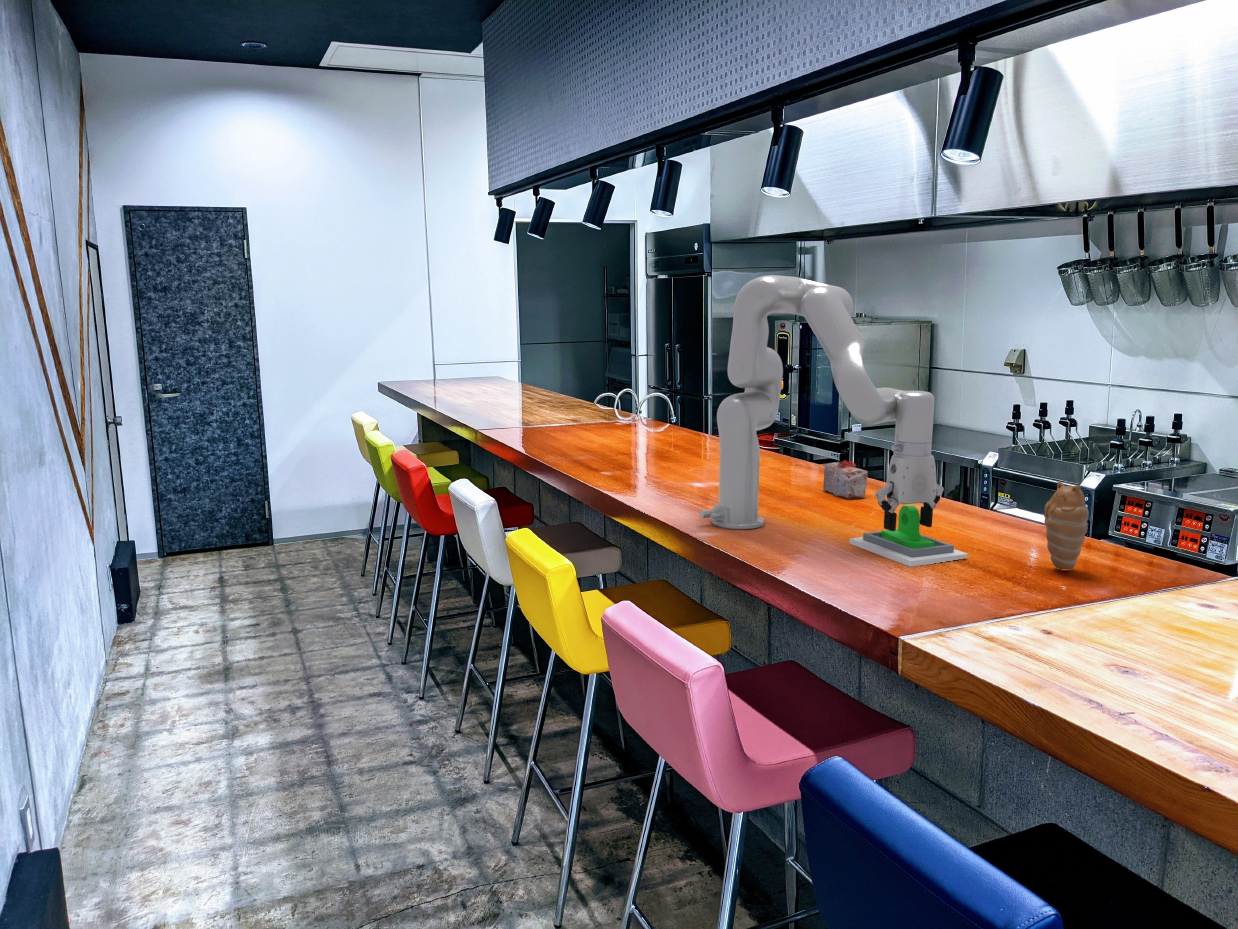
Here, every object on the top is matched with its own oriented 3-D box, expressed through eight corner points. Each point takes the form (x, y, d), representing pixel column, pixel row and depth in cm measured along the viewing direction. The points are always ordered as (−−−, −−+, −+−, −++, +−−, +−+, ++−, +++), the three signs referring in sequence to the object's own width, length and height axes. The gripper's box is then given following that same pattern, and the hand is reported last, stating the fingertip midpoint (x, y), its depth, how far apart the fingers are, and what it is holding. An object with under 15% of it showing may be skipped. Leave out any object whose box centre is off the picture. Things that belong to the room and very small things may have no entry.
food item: (870, 499, 256) (872, 463, 254) (846, 501, 253) (848, 465, 252) (841, 490, 269) (843, 456, 267) (818, 491, 266) (819, 457, 264)
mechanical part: (880, 539, 207) (882, 504, 205) (905, 538, 208) (907, 503, 207) (908, 553, 195) (910, 516, 194) (934, 551, 196) (936, 514, 195)
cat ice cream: (1030, 567, 190) (1038, 480, 187) (1060, 563, 192) (1068, 477, 189) (1065, 578, 181) (1073, 488, 178) (1095, 575, 184) (1104, 485, 181)
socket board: (910, 566, 189) (911, 553, 189) (849, 543, 208) (850, 531, 207) (967, 559, 195) (968, 546, 195) (903, 537, 213) (904, 526, 213)
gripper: (891, 454, 191) (886, 535, 194) (957, 449, 198) (951, 528, 200) (868, 449, 198) (863, 527, 201) (932, 444, 204) (927, 520, 207)
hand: (907, 527), depth 201 cm, fingers open, 9 cm apart
